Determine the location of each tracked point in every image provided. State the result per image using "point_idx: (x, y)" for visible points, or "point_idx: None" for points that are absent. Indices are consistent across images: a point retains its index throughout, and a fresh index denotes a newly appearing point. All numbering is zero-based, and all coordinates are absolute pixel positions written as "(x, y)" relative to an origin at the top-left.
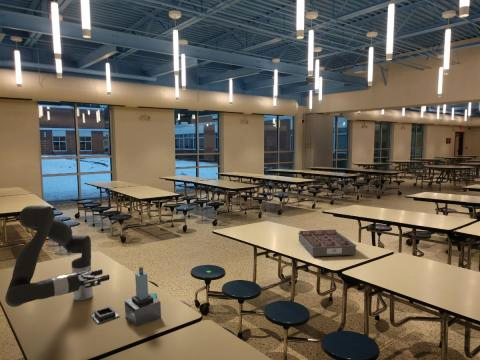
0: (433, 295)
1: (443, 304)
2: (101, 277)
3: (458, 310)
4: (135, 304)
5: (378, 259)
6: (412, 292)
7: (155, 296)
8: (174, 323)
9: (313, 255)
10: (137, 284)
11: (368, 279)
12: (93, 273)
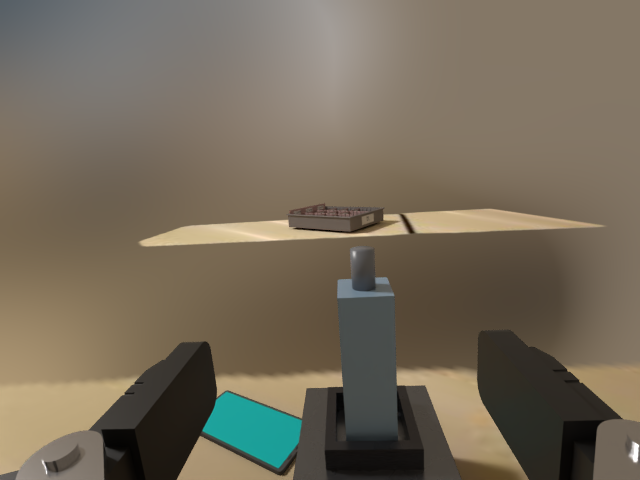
0: (534, 224)
1: (563, 226)
2: (584, 420)
3: (583, 226)
4: (392, 474)
5: (409, 219)
6: (518, 227)
7: (244, 400)
8: (500, 436)
9: (350, 229)
10: (367, 355)
11: (458, 231)
12: (133, 472)
